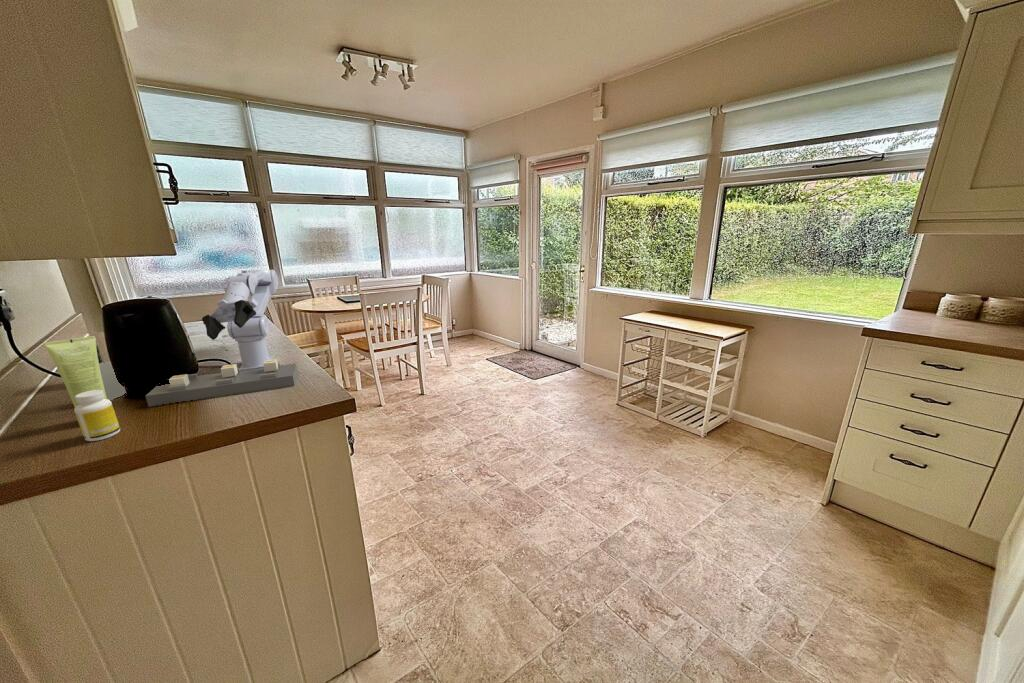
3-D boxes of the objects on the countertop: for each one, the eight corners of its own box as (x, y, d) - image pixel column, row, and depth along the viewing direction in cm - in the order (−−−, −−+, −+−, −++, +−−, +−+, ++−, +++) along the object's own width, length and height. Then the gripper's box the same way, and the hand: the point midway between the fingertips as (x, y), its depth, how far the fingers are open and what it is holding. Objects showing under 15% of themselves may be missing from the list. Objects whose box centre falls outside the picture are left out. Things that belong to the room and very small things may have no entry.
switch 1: (175, 384, 100) (173, 375, 99) (189, 382, 101) (187, 373, 100) (171, 389, 97) (168, 379, 96) (185, 387, 98) (183, 377, 97)
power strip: (166, 390, 104) (162, 376, 103) (298, 372, 116) (295, 360, 115) (148, 406, 94) (144, 392, 93) (294, 385, 107) (292, 372, 106)
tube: (99, 413, 91) (71, 335, 86) (120, 413, 91) (95, 335, 86) (73, 425, 86) (42, 342, 80) (96, 425, 86) (67, 342, 80)
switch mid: (225, 373, 107) (223, 365, 106) (238, 372, 108) (236, 363, 107) (222, 377, 104) (220, 368, 104) (235, 375, 106) (233, 367, 105)
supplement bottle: (128, 429, 84) (114, 388, 81) (100, 442, 79) (84, 399, 76) (106, 428, 84) (92, 387, 82) (77, 441, 79) (61, 398, 76)
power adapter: (95, 402, 97) (79, 358, 94) (117, 394, 102) (103, 351, 99) (106, 403, 97) (91, 358, 93) (128, 394, 102) (114, 351, 99)
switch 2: (266, 368, 111) (264, 360, 110) (278, 367, 112) (276, 358, 111) (264, 372, 108) (263, 363, 108) (277, 370, 109) (275, 361, 109)
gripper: (199, 302, 107) (185, 332, 97) (247, 281, 107) (238, 308, 98) (219, 319, 112) (208, 349, 102) (265, 299, 112) (258, 327, 103)
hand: (224, 330), depth 100 cm, fingers open, 7 cm apart
